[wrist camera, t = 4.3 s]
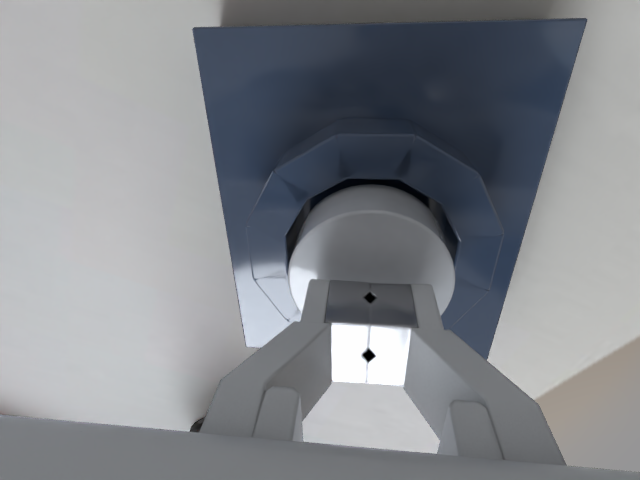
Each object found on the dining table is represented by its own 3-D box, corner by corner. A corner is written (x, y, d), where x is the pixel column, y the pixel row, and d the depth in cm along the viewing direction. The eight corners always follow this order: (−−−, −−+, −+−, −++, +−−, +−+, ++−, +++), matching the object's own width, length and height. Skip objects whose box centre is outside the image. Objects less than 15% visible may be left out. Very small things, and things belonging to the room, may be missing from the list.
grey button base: (219, 26, 12) (159, 28, 8) (549, 18, 11) (635, 17, 7) (258, 313, 18) (232, 382, 14) (472, 325, 17) (500, 402, 13)
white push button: (293, 181, 10) (281, 208, 9) (455, 184, 10) (470, 213, 8) (300, 303, 13) (292, 341, 11) (433, 310, 12) (442, 350, 11)
